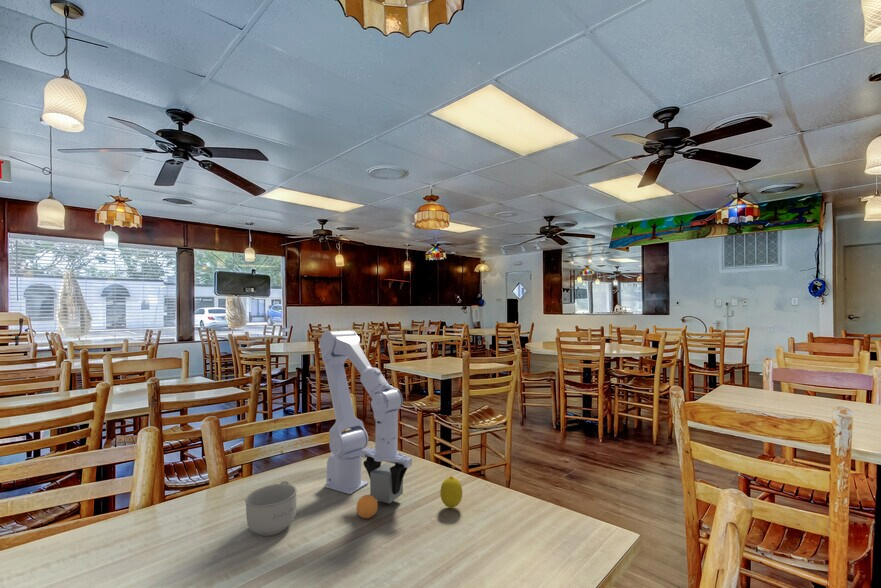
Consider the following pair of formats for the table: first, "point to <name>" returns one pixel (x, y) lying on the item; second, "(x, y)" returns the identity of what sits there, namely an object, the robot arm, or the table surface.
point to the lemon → (451, 492)
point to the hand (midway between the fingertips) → (385, 489)
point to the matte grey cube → (383, 484)
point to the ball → (367, 506)
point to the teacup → (271, 508)
